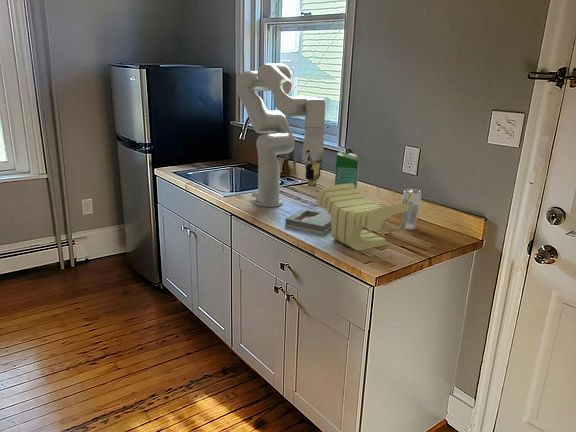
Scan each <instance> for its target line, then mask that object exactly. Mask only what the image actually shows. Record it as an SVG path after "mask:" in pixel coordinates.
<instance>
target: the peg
mask: <svg viewBox="0 0 576 432" xmlns="http://www.w3.org/2000/svg"><path fill="white" fill-rule="evenodd" d="M310 164H311V163H310ZM319 165H320V163H317V162H314V166H313V169H314V179H313V180H310V179H307V186H308V187H310V188H313V187H315V188H316V187H317V180H319V179H320V177H319Z"/></svg>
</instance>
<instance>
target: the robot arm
mask: <svg viewBox="0 0 576 432" xmlns="http://www.w3.org/2000/svg"><path fill="white" fill-rule="evenodd" d="M291 78H292V72H291V69H290V68H289V67H288V66H287V65H286V64H283V63H264V64H261V65H260V66H259V68H258V69H257V70H248V71H247V70H246V71H243V72H241V73H239V74H238V75H237V77H236V81H235V82H236V83H235V87H236V93H237V95H238V97H239V100H240V101H241V102H242V105H243V107H244V108H245V110H246V113H247V116H248V118H249V121H250V123H251V126H252V128H253V130H254V132H256V133H258V134H260V135H259V136H258V137H257V139H256V143H255V145H256V150H257V151H256V152H257V157H258V158H257V159H258V162H257V163H258V165H257V166H258V168H257V169H258V173H257V175H258V176H257V177H258V178H257V179H258V182H257V183H258V184H257V186H258V187H257V189H258V190H257V191H252V192H251V197H252V198H255V200H254V204H255V206H258V207H262V208H263V207H264V208H275V207H276V208H277V207H280V206H282V205H283V200H282V199H280V186H281V185H280V182H281V180H280V179H281V164H280V161H279V159H278V158H277V156H278V155H285V154H290V153H291V152H293V151H294V149H295V146H296V143H295V138H294V134H293V132H292V129H291V127H290V125H289V122H288V120H287V117H288V118H300V117H302V118H303V117H304V119H305V120H304V138H303V142H302V143H303V144H302V145H303V146H302V155H301V156H302V157H301V158H302V160H301V161H303V164H304V166H305V179H306V180H308V179H310V180H313V179H314V169H313V166H314V162H317V163H320V165H319V178H320V177H321V168H322V160H323V158H324V152H325V151H324V143H325V142H324V141H325V140H324V136H325V126H326V125H325V124H326V121H325V120H326V101H325V99H324V98H318V97H317V98H315V97H311V96H289V94H290V92H291V90H292V86H293V85H292V81H291ZM269 91H270V92H271V93H272V94H273V95H272V98H273V103H274V105H275V108H276V109H277V110H268V108H267V107H266V104H265V102H264V101H263V99H262V98H261V96H260V95H258V94H257V93H256V92H269ZM310 163H311V164H310Z"/></svg>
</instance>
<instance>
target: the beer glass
mask: <svg viewBox="0 0 576 432" xmlns="http://www.w3.org/2000/svg"><path fill="white" fill-rule="evenodd" d="M421 202H422V191H421V190H419V189H415V188H414V189H413V188H406V189H404V190H403V195H402V202H401V204H405V203H409V209H408V211H405V212H402V221H401V224H400V228H401V229H403V230H406V231H415V230H417V219H418V215H419V212H420V208H421Z"/></svg>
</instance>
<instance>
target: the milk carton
mask: <svg viewBox="0 0 576 432" xmlns="http://www.w3.org/2000/svg"><path fill="white" fill-rule="evenodd" d="M359 167H360V157H359V156H358V155H357V154H355V153H352V152H348V153H346V152H344V151H343V152H342V151H340V150H338V152H337V154H336V164H335V175H334V176H335V177H334V185H339V184H348V183H353V184H354V185H355V189H358V182H359V181H358V179H359Z"/></svg>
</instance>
